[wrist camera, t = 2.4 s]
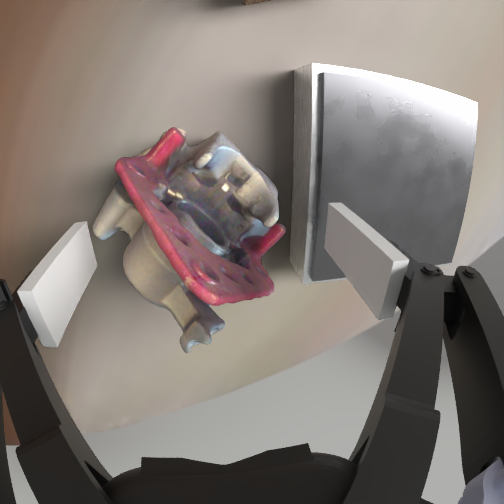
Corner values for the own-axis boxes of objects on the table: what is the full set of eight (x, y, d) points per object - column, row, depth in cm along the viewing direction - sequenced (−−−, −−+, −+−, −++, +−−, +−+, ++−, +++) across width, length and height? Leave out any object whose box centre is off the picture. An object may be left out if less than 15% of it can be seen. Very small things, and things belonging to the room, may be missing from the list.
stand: (289, 259, 23) (304, 288, 20) (294, 69, 17) (315, 62, 13) (427, 246, 25) (453, 267, 21) (448, 98, 18) (481, 103, 15)
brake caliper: (339, 195, 19) (297, 382, 12) (235, 243, 27) (179, 370, 20) (210, 65, 14) (48, 218, 7) (133, 159, 22) (41, 282, 15)
